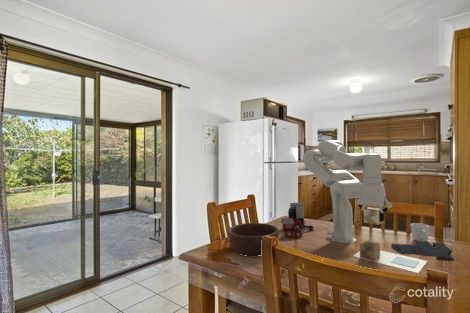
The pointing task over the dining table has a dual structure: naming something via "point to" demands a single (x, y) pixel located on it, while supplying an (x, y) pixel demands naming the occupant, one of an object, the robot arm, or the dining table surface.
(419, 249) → the dark slate chunk
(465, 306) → the dining table surface
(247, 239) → the wooden bowl
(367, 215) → the birch block
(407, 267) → the build plate
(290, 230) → the toy fire truck
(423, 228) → the cup
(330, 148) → the robot arm
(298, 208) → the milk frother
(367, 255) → the walnut block
